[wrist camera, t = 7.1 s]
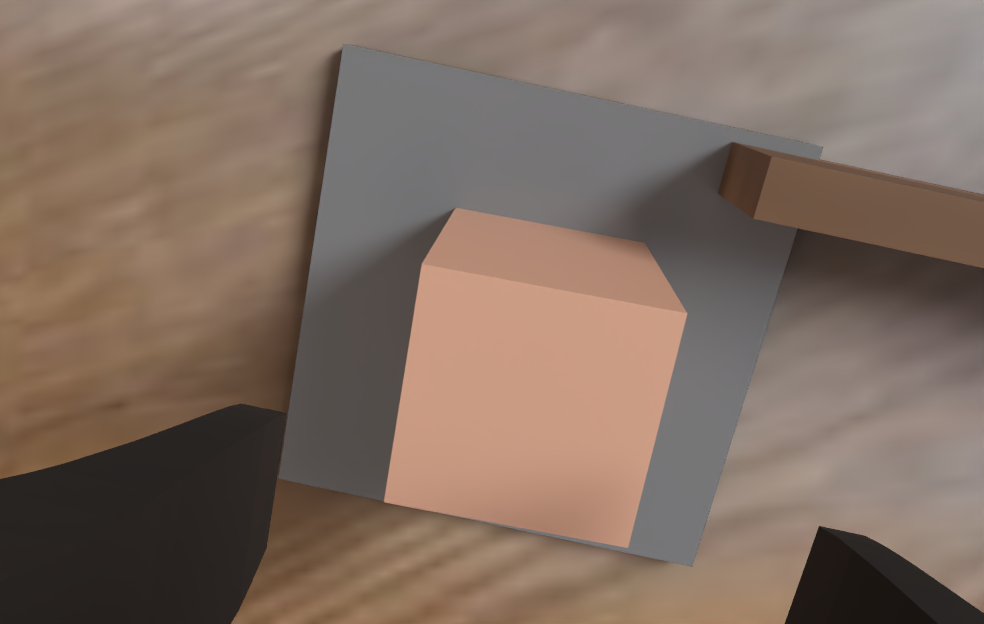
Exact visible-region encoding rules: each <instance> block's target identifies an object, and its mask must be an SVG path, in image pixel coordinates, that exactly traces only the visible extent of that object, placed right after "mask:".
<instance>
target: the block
mask: <svg viewBox="0 0 984 624" xmlns="http://www.w3.org/2000/svg"><path fill="white" fill-rule="evenodd" d="M686 317H687V312H686V310H685V309H684V307H683V305H682V304H681V302H680V300H679V299H678V297H677V295H676V294H675V292H674V290H673V289H672V287H671V285H670V284H669V282H668V281H667V279H666V277H665V276H664V274H663V272H662V271H661V269H660V267H659V266H658V264H657V262H656V261H655V259H654V257H653V256H652V254H651V252H650V251H649V249H648V247H647V246H646V244H645V243H642V242H637V241H631V240H626V239H621V238H615V237H610V236H605V235H599V234H594V233H589V232H583V231H578V230H572V229H567V228H562V227H556V226H551V225H546V224H540V223H535V222H530V221H524V220H519V219H513V218H508V217H503V216H497V215H492V214H487V213H481V212H476V211H471V210H465V209H460V208H455V210H454V211H453V213H452V215H451V216H450V218H449V220H448V221H447V223H446V225H445V226H444V228H443V230H442V231H441V233H440V234H439V236H438V238H437V239H436V241H435V243H434V244H433V246H432V248H431V249H430V251H429V253H428V254H427V256H426V258H425V259H424V261H423V263H422V265H421V272H420V278H419V284H418V291H417V297H416V303H415V309H414V316H413V322H412V328H411V335H410V341H409V347H408V353H407V360H406V366H405V372H404V379H403V385H402V391H401V397H400V404H399V410H398V416H397V423H396V429H395V435H394V441H393V448H392V454H391V460H390V467H389V473H388V479H387V485H386V492H385V498H384V502H385V503H390V504H395V505H401V506H406V507H411V508H417V509H422V510H427V511H433V512H438V513H443V514H449V515H454V516H459V517H465V518H470V519H475V520H481V521H486V522H492V523H497V524H502V525H508V526H513V527H518V528H524V529H529V530H534V531H540V532H545V533H550V534H556V535H561V536H566V537H572V538H577V539H582V540H588V541H593V542H598V543H604V544H609V545H614V546H620V547H625V548H628V546H629V542H630V538H631V534H632V530H633V526H634V522H635V519H636V515H637V511H638V507H639V503H640V499H641V495H642V491H643V487H644V483H645V479H646V475H647V471H648V467H649V463H650V459H651V455H652V451H653V447H654V444H655V440H656V436H657V432H658V428H659V424H660V420H661V416H662V412H663V408H664V404H665V400H666V396H667V392H668V388H669V384H670V380H671V376H672V373H673V369H674V365H675V361H676V357H677V353H678V349H679V345H680V341H681V337H682V333H683V329H684V325H685V321H686Z"/></svg>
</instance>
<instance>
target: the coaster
mask: <svg viewBox="0 0 984 624" xmlns="http://www.w3.org/2000/svg"><path fill="white" fill-rule="evenodd" d="M732 142H736V143H741V144H746V145H750V146H755V147H760V148H764V149H769V150H773V151H778V152H783V153H787V154H792V155H797V156H801V157H806V158H811V159H815V160H819V159H820V156H821V153H822V149H823V147H821V146H817V145H813V144H809V143H804V142H800V141H795V140H790V139H786V138H781V137H776V136H772V135H767V134H762V133H758V132H753V131H748V130H744V129H739V128H734V127H730V126H725V125H721V124H716V123H711V122H707V121H702V120H697V119H693V118H688V117H683V116H679V115H674V114H669V113H665V112H660V111H655V110H651V109H646V108H642V107H637V106H632V105H628V104H623V103H618V102H614V101H609V100H604V99H600V98H595V97H590V96H586V95H581V94H576V93H572V92H567V91H563V90H558V89H553V88H549V87H544V86H539V85H535V84H530V83H525V82H521V81H516V80H511V79H507V78H502V77H497V76H493V75H488V74H484V73H479V72H474V71H470V70H465V69H460V68H456V67H451V66H446V65H442V64H437V63H432V62H428V61H423V60H418V59H414V58H409V57H405V56H400V55H395V54H391V53H386V52H381V51H377V50H372V49H367V48H363V47H358V46H353V45H349V44H343V50H342V56H341V63H340V70H339V76H338V83H337V90H336V96H335V103H334V110H333V116H332V123H331V130H330V136H329V143H328V150H327V157H326V163H325V170H324V177H323V183H322V190H321V197H320V203H319V210H318V217H317V223H316V230H315V237H314V243H313V250H312V257H311V263H310V270H309V277H308V283H307V290H306V297H305V303H304V310H303V317H302V323H301V330H300V337H299V343H298V350H297V357H296V363H295V370H294V377H293V383H292V390H291V397H290V403H289V410H288V417H287V423H286V430H285V437H284V443H283V450H282V457H281V463H280V470H279V477H278V479H281V480H286V481H291V482H295V483H300V484H305V485H310V486H314V487H319V488H324V489H328V490H333V491H338V492H343V493H347V494H352V495H357V496H361V497H366V498H371V499H376V500H380V501H384V498H385V492H386V485H387V479H388V473H389V467H390V460H391V454H392V448H393V441H394V435H395V429H396V423H397V416H398V410H399V404H400V397H401V391H402V385H403V379H404V372H405V366H406V360H407V353H408V347H409V341H410V335H411V328H412V322H413V316H414V309H415V303H416V297H417V291H418V284H419V278H420V272H421V265H422V263H423V261H424V259H425V258H426V256H427V254H428V253H429V251H430V249H431V248H432V246H433V244H434V243H435V241H436V239H437V238H438V236H439V234H440V233H441V231H442V230H443V228H444V226H445V225H446V223H447V221H448V220H449V218H450V216H451V215H452V213H453V211H454V210H455V208H460V209H465V210H471V211H476V212H481V213H487V214H492V215H497V216H503V217H508V218H513V219H519V220H524V221H530V222H535V223H540V224H546V225H551V226H556V227H562V228H567V229H572V230H578V231H583V232H589V233H594V234H599V235H605V236H610V237H615V238H621V239H626V240H631V241H637V242H642V243H645V244H646V246H647V247H648V249H649V251H650V252H651V254H652V256H653V257H654V259H655V261H656V262H657V264H658V266H659V267H660V269H661V271H662V272H663V274H664V276H665V277H666V279H667V281H668V282H669V284H670V285H671V287H672V289H673V290H674V292H675V294H676V295H677V297H678V299H679V300H680V302H681V304H682V305H683V307H684V309H685V310H686V312H687V317H686V321H685V325H684V329H683V333H682V337H681V341H680V345H679V349H678V353H677V357H676V361H675V365H674V369H673V373H672V376H671V380H670V384H669V388H668V392H667V396H666V400H665V404H664V408H663V412H662V416H661V420H660V424H659V428H658V432H657V436H656V440H655V444H654V447H653V451H652V455H651V459H650V463H649V467H648V471H647V475H646V479H645V483H644V487H643V491H642V495H641V499H640V503H639V507H638V511H637V515H636V519H635V522H634V526H633V530H632V534H631V538H630V542H629V546H628V548H625V547H620V546H614V545H609V544H604V543H598V542H593V541H588V540H582V539H577V538H572V537H566V536H561V535H556V534H550V533H545V532H540V531H534V530H529V529H524V528H518V527H513V526H508V525H502V524H497V523H492V522H486V521H481V520H475V519H470V518H465V517H460V518H465V519H470V520H474V521H479V522H484V523H489V524H493V525H498V526H503V527H507V528H512V529H517V530H521V531H526V532H531V533H536V534H540V535H545V536H550V537H554V538H559V539H564V540H569V541H573V542H578V543H583V544H587V545H592V546H597V547H601V548H606V549H611V550H616V551H620V552H625V553H630V554H634V555H639V556H644V557H649V558H653V559H658V560H663V561H667V562H672V563H677V564H682V565H686V566H691V567H692V566H693V563H694V559H695V556H696V553H697V550H698V547H699V543H700V540H701V537H702V534H703V531H704V527H705V524H706V521H707V518H708V514H709V511H710V508H711V505H712V502H713V498H714V495H715V492H716V489H717V486H718V482H719V479H720V476H721V473H722V470H723V466H724V463H725V460H726V457H727V454H728V450H729V447H730V444H731V441H732V438H733V434H734V431H735V428H736V425H737V422H738V418H739V415H740V412H741V409H742V406H743V402H744V399H745V396H746V393H747V390H748V386H749V383H750V380H751V377H752V374H753V370H754V367H755V364H756V361H757V358H758V354H759V351H760V348H761V345H762V342H763V338H764V335H765V332H766V329H767V326H768V322H769V319H770V316H771V313H772V310H773V306H774V303H775V300H776V297H777V294H778V290H779V287H780V284H781V281H782V278H783V274H784V271H785V268H786V265H787V262H788V258H789V255H790V252H791V249H792V245H793V242H794V239H795V236H796V233H797V229H798V228H794V227H790V226H785V225H780V224H776V223H771V222H766V221H762V220H757V219H753V218H752V217H750V216H749V215H747V214H746V213H744V212H743V211H742V210H740V209H739V208H737V207H736V206H735V205H733V204H732V203H730V202H729V201H727V200H726V199H725V198H723V197H722V196H720V195H719V194H718V191H719V188H720V184H721V180H722V177H723V173H724V170H725V166H726V163H727V159H728V156H729V152H730V149H731V145H732ZM432 512H433V511H432ZM437 513H438V512H437ZM441 514H443V513H441ZM446 515H449V514H446ZM451 516H454V515H451ZM456 517H459V516H456Z"/></svg>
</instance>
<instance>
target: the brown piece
mask: <svg viewBox="0 0 984 624" xmlns="http://www.w3.org/2000/svg"><path fill="white" fill-rule="evenodd" d="M718 194H719V195H720V196H722V197H723V198H725V199H726V200H727V201H729V202H730V203H732V204H733V205H735V206H736V207H737V208H739V209H740V210H742V211H743V212H744V213H746V214H747V215H749V216H750V217H752V218H753V219H757V220H762V221H766V222H771V223H776V224H780V225H785V226H790V227H794V228H799V229H803V230H808V231H813V232H817V233H822V234H827V235H831V236H836V237H841V238H845V239H850V240H855V241H859V242H864V243H869V244H873V245H878V246H883V247H887V248H892V249H897V250H901V251H906V252H911V253H915V254H920V255H925V256H929V257H934V258H939V259H943V260H948V261H953V262H957V263H962V264H967V265H971V266H976V267H981V268H984V195H982V194H978V193H973V192H968V191H964V190H959V189H954V188H950V187H945V186H940V185H936V184H931V183H926V182H922V181H917V180H913V179H908V178H903V177H899V176H894V175H889V174H885V173H880V172H875V171H871V170H866V169H861V168H857V167H852V166H847V165H843V164H838V163H833V162H829V161H824V160H820V159H819V160H815V159H811V158H806V157H801V156H797V155H792V154H787V153H783V152H778V151H773V150H769V149H764V148H760V147H755V146H750V145H746V144H741V143H736V142H732V145H731V149H730V152H729V156H728V159H727V163H726V166H725V170H724V173H723V177H722V180H721V184H720V188H719V191H718Z"/></svg>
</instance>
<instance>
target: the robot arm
mask: <svg viewBox="0 0 984 624" xmlns="http://www.w3.org/2000/svg"><path fill="white" fill-rule="evenodd" d="M285 418H286V413H282V412H278V411H273V410H268V409H264V408H259V407H254V406H249V405H245V404H238V405H234V406H230V407H227V408H224V409H221V410H218V411H215V412H212V413H209V414H206V415H204V416H201V417H198V418H196V419H193V420H190V421H188V422H185V423H183V424H180V425H177V426H174V427H172V428H169V429H166V430H164V431H161V432H158V433H155V434H153V435H150V436H147V437H145V438H142V439H139V440H136V441H134V442H130V443H127V444H124V445H121V446H118V447H115V448H112V449H109V450H105V451H102V452H99V453H96V454H93V455H90V456H87V457H84V458H80V459H77V460H74V461H71V462H68V463H64V464H61V465H57V466H53V467H50V468H46V469H42V470H38V471H34V472H30V473H26V474H21V475H17V476H12V477H8V478H3V479H0V624H231V622H232V621H233V619H234V617H235V616H236V614H237V612H238V611H239V609H240V606H241V604H242V602H243V600H244V598H245V595H246V593H247V591H248V589H249V587H250V585H251V582H252V580H253V578H254V575H255V573H256V571H257V568H258V566H259V564H260V562H261V559H262V557H263V555H264V552H265V550H266V547H267V541H268V534H269V527H270V520H271V513H272V507H273V500H274V493H275V486H276V480H277V473H278V466H279V459H280V452H281V446H282V439H283V432H284V425H285ZM785 624H984V613H982V612H981V611H980V610H978V609H977V608H975V607H974V606H972V605H971V604H969V603H968V602H967V601H965V600H964V599H962V598H961V597H960V596H958V595H957V594H955V593H954V592H952V591H951V590H950V589H948V588H947V587H945V586H944V585H942V584H941V583H939V582H938V581H937V580H935V579H934V578H932V577H931V576H929V575H928V574H927V573H925V572H924V571H922V570H921V569H919V568H918V567H916V566H915V565H913V564H912V563H910V562H909V561H907V560H906V559H904V558H903V557H901V556H900V555H898V554H897V553H895V552H893V551H892V550H890V549H888V548H887V547H885V546H883V545H882V544H880V543H878V542H876V541H874V540H872V539H870V538H868V537H866V536H864V535H859V534H854V533H849V532H845V531H840V530H835V529H831V528H826V527H821V526H819V528H818V531H817V534H816V537H815V539H814V542H813V545H812V548H811V551H810V554H809V556H808V559H807V562H806V565H805V568H804V571H803V573H802V576H801V579H800V582H799V585H798V588H797V590H796V593H795V596H794V599H793V602H792V605H791V607H790V610H789V613H788V616H787V619H786V622H785Z"/></svg>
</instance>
